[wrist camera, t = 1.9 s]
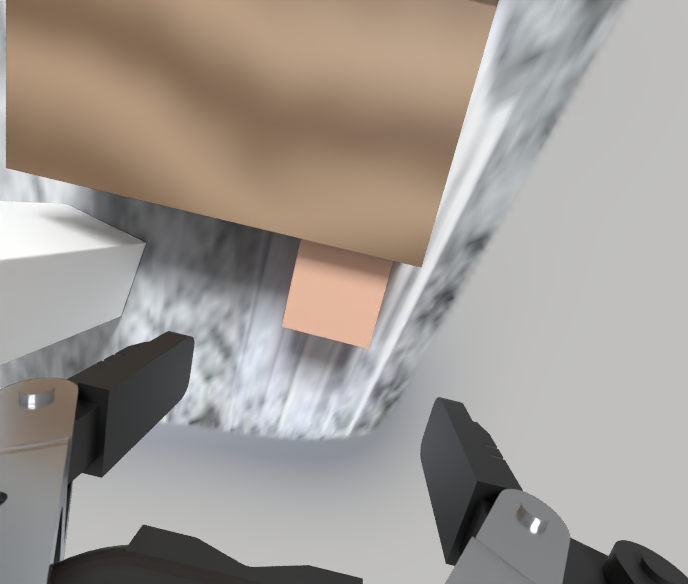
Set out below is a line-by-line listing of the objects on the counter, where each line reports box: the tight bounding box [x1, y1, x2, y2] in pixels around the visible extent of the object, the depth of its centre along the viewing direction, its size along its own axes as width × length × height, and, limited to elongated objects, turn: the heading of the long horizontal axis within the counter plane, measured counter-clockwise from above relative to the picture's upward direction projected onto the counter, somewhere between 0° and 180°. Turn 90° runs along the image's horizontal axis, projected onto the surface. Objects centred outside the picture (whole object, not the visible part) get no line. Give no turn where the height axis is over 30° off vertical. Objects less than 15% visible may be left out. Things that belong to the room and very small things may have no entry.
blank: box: [282, 239, 393, 349], centre depth 20 cm, size 10×5×5 cm, turn 166°
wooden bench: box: [6, 0, 499, 267], centre depth 18 cm, size 12×21×6 cm, turn 77°
